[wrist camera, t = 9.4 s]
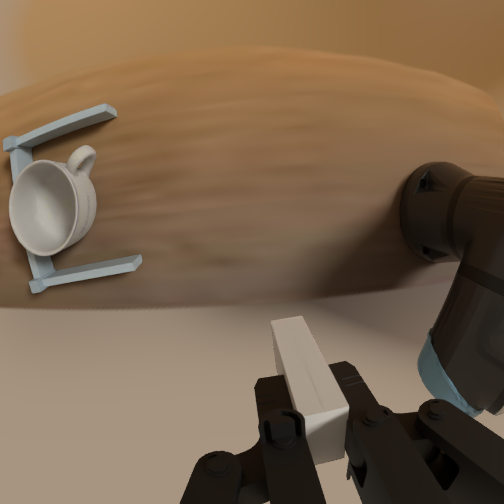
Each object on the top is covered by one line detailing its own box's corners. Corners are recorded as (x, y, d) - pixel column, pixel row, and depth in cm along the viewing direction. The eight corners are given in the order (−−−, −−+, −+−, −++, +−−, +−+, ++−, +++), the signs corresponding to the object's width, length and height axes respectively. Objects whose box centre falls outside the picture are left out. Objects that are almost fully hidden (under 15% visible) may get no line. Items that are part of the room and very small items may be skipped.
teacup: (66, 257, 36) (37, 274, 29) (27, 196, 34) (-6, 201, 26) (138, 194, 36) (117, 198, 28) (95, 128, 33) (67, 119, 25)
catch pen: (116, 107, 33) (101, 98, 28) (143, 263, 38) (132, 276, 33) (23, 142, 32) (2, 139, 27) (50, 281, 37) (32, 293, 32)
